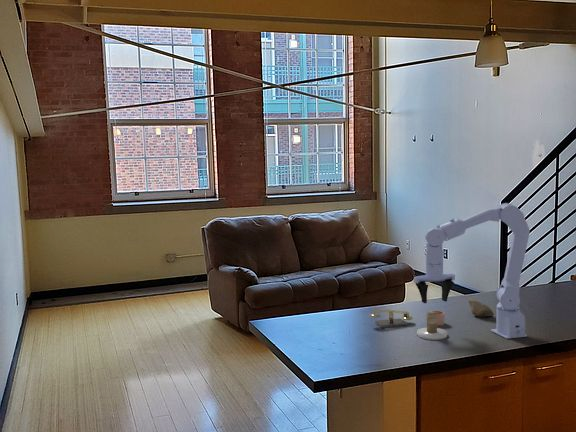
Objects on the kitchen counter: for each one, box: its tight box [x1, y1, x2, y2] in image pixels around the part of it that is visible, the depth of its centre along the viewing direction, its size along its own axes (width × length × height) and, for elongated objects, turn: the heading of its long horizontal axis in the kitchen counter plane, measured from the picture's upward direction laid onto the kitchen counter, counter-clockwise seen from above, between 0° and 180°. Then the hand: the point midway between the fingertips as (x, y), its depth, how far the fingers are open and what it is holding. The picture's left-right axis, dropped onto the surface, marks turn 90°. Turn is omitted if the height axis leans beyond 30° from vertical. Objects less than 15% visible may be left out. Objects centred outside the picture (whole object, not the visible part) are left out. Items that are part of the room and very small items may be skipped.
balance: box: [368, 308, 414, 329], centre depth 213 cm, size 6×17×6 cm, turn 103°
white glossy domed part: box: [416, 327, 448, 341], centre depth 200 cm, size 10×10×1 cm
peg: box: [426, 311, 438, 333], centre depth 200 cm, size 3×3×6 cm
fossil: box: [468, 298, 495, 318], centre depth 221 cm, size 9×4×10 cm
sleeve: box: [429, 310, 446, 327], centre depth 213 cm, size 6×6×4 cm
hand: (434, 301), depth 203 cm, fingers open, 7 cm apart
